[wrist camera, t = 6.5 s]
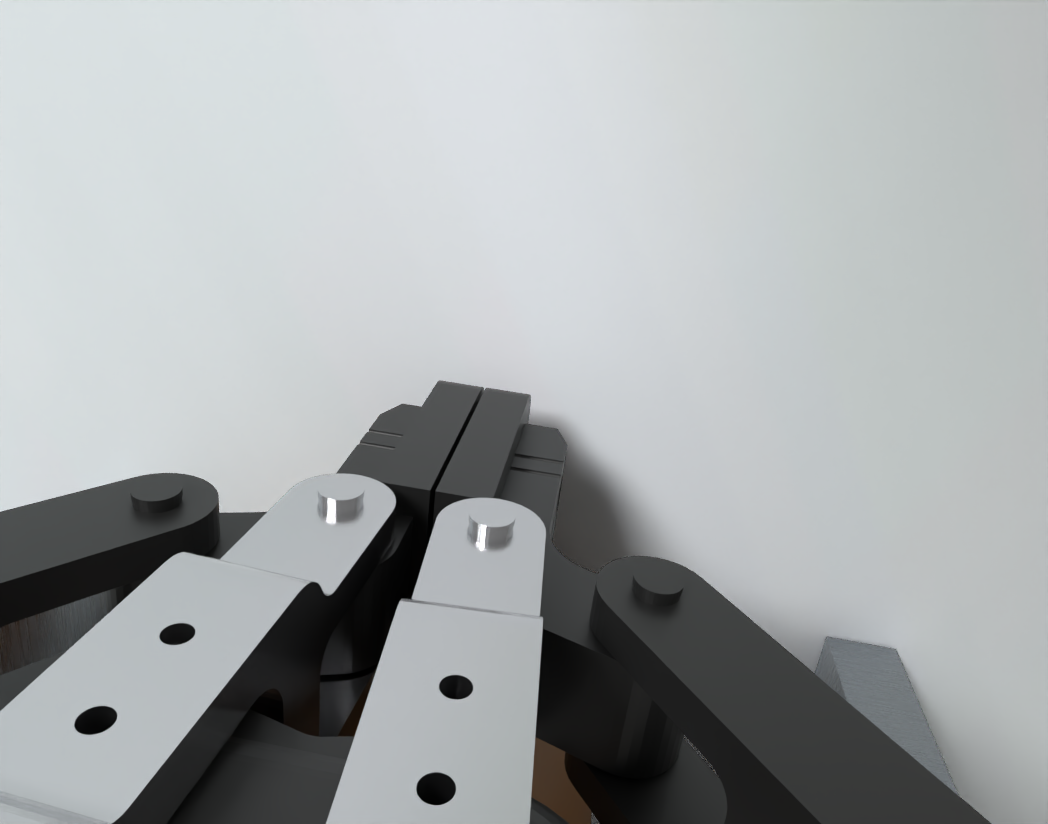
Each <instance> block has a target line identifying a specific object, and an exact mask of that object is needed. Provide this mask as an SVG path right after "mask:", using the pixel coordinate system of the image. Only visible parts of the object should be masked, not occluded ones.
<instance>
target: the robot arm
mask: <svg viewBox="0 0 1048 824" xmlns="http://www.w3.org/2000/svg"><path fill="white" fill-rule="evenodd" d="M530 403H531V395H528V394H522V393H516V392H510V391H503V390H497V389H491V388H486V389H485V391H484V388H483V387H478V386H471V385H465V384H459V383H453V382H446V381H438V382H437V384H436V385H435V387H434V388H433V390H432V392H431V393H430V395H429V396H428V398H427V399H426V401H425V402H424V404H423V406H422V407H419V406H413V405H407V404H401V405H399V406H397V407H395V408H393V409H391V410H388V411H386V412H384V413H382V414H380V415H379V417H378V418H377V420H376V421H375V422H374V424H373V425H372V426H371V428H370V429H369V432H367V433H366V434H365V436H364V437H363V438H362V440H361V441H360V445H357V446H356V448H355V449H354V450H353V452H352V453H351V454H350V456H349V457H348V458H347V460H346V461H345V462H344V464H343V465H342V466H341V468H340V469H339V470H338V472H337V473H336V474H326V475H320V476H316V477H312V478H309V479H306V480H304V481H301V482H300V483H298V484H296V485H295V486H293V487H292V488H291V489H290V490H289V491H288V492H287V493H286V494H285V495H284V496H283V497H282V498H281V499H280V500H279V501H278V502H277V503H276V504H275V505H274V506H273V507H272V508H271V509H270V510H269V511H268V512H253V513H219V499H218V493H217V490H216V489H215V488H214V486H213V485H211V484H210V483H209V482H207V481H205V480H203V479H201V478H198V477H195V476H190V475H186V474H177V473H159V474H149V475H143V476H138V477H134V478H130V479H126V480H122V481H118V482H115V483H111V484H107V485H103V486H99V487H95V488H91V489H87V490H83V491H80V492H76V493H72V494H68V495H64V496H60V497H56V498H52V499H48V500H45V501H41V502H37V503H33V504H29V505H25V506H21V507H17V508H14V509H10V510H6V511H2V512H0V628H1V627H3V626H6V625H8V624H10V623H13V622H16V621H19V620H22V619H25V618H28V617H31V616H34V615H37V614H40V613H43V612H46V611H49V610H52V609H55V608H58V607H61V606H64V605H67V604H70V603H72V602H75V601H78V600H81V599H84V598H87V597H90V596H93V595H96V594H99V593H102V592H105V600H106V609H107V615H106V616H105V617H104V618H103V619H102V620H101V621H99V622H98V623H97V624H96V625H95V626H94V627H93V628H92V629H91V630H90V631H88V632H87V633H86V634H85V635H84V636H83V637H82V638H81V639H80V640H78V641H77V642H76V643H75V644H74V645H73V646H72V647H71V648H70V649H68V650H67V651H64V652H62V653H59V654H56V655H54V656H51V657H48V658H46V659H43V660H40V661H38V662H35V663H32V664H30V665H27V666H24V667H22V668H19V669H16V670H13V671H11V672H8V673H5V674H3V675H0V824H569V823H568V822H567V821H566V820H565V819H563V818H562V817H561V816H559V815H558V814H557V813H555V812H554V811H553V810H551V809H550V808H549V807H547V806H546V805H544V804H542V803H540V802H539V801H537V800H535V799H534V798H532V797H531V793H532V778H533V764H534V749H535V737H536V738H538V739H540V740H542V741H545V742H547V743H549V744H551V745H553V746H555V747H557V748H559V749H561V750H563V751H565V759H564V764H565V770H566V773H567V775H568V778H569V780H570V781H571V783H572V785H573V786H574V788H575V789H576V790H577V792H578V793H579V795H580V796H581V797H582V799H583V800H584V802H585V803H586V804H587V806H588V807H589V809H590V810H591V811H592V813H593V814H594V815H595V817H596V818H597V820H598V821H599V822H600V824H991V823H990V822H989V821H987V820H986V819H985V818H984V817H983V816H982V815H980V814H979V813H978V812H977V811H976V810H974V809H973V808H972V807H971V806H970V805H969V804H967V803H966V802H965V801H964V800H963V799H962V798H960V797H959V796H958V795H957V794H956V793H954V792H953V791H952V790H951V789H950V788H949V787H947V786H946V785H945V784H944V783H943V782H942V781H940V780H939V779H938V778H937V777H936V776H934V775H933V774H932V773H931V772H930V771H929V770H927V769H926V768H925V767H924V766H923V765H921V764H920V763H919V762H918V761H917V760H916V759H914V758H913V757H912V756H911V755H910V754H909V753H907V752H906V751H905V750H904V749H903V748H901V747H900V746H899V745H898V744H897V743H896V742H894V741H893V740H892V739H891V738H890V737H889V736H887V735H886V734H885V733H884V732H883V731H881V730H880V729H879V728H878V727H877V726H876V725H874V724H873V723H872V722H871V721H870V720H868V719H867V718H866V717H865V716H864V715H863V714H861V713H860V712H859V711H858V710H857V709H856V708H854V707H853V706H852V705H851V704H850V703H848V702H847V701H846V700H845V699H844V698H843V697H841V696H840V695H839V694H838V693H837V692H836V691H834V690H833V689H832V688H831V687H830V686H828V685H827V684H826V683H825V682H824V681H823V680H821V679H820V678H819V677H818V676H817V675H815V674H814V673H813V672H812V671H811V670H810V669H808V668H807V667H806V666H805V665H804V664H803V663H801V662H800V661H799V660H798V659H797V658H795V657H794V656H793V655H792V654H791V653H790V652H788V651H787V650H786V649H785V648H784V647H783V646H781V645H780V644H779V643H778V642H777V641H775V640H774V639H773V638H772V637H771V636H770V635H768V634H767V633H766V632H765V631H764V630H762V629H761V628H760V627H759V626H758V625H757V624H755V623H754V622H753V621H752V620H751V619H750V618H748V617H747V616H746V615H745V614H744V613H742V612H741V611H740V610H739V609H738V608H737V607H735V606H734V605H733V604H732V603H731V602H729V601H728V600H727V599H726V598H725V597H724V596H722V595H721V594H720V593H719V592H718V591H717V590H715V589H714V588H713V587H712V586H711V585H709V584H708V583H707V582H706V581H705V580H704V579H702V578H701V577H700V576H698V575H697V574H696V573H694V572H693V571H691V570H689V569H688V568H686V567H684V566H681V565H679V564H677V563H674V562H671V561H668V560H664V559H660V558H655V557H648V556H631V557H624V558H620V559H617V560H614V561H612V562H610V563H608V564H606V565H605V566H604V567H603V568H602V569H601V570H600V572H599V573H598V574H596V573H594V572H591V571H589V570H586V569H584V568H582V567H580V566H578V565H576V564H574V563H573V562H571V561H570V560H568V559H567V558H565V557H564V556H563V555H562V554H561V553H560V552H559V551H558V550H557V549H556V547H555V546H554V545H553V543H552V539H553V534H554V529H555V523H556V516H557V510H558V503H559V496H560V490H561V483H562V477H563V470H564V463H565V457H566V450H567V444H566V442H565V441H564V439H563V437H562V436H561V434H560V433H559V431H558V429H555V428H549V427H543V426H537V425H531V424H528V421H529V413H530ZM358 724H359V725H358ZM357 725H358V728H357V731H356V734H355V736H352V734H353V732H354V731H355V729H356V727H357ZM684 734H685V736H686V737H687V738H688V739H689V740H690V741H691V742H692V743H693V744H694V745H695V747H696V748H697V749H698V750H699V751H700V752H701V753H702V754H703V755H704V756H705V757H706V759H707V760H708V761H709V762H710V763H711V764H712V766H713V767H714V769H715V770H716V772H717V774H718V776H719V777H720V778H719V777H718V776H717V775H716V774H715V773H714V772H713V771H712V769H711V768H710V767H709V766H708V765H707V764H706V763H705V762H704V761H703V760H702V758H701V757H700V756H699V755H698V754H697V753H696V752H695V751H694V750H693V749H692V747H691V746H690V745H689V744H688V743H687V742H686V741H685V740H684V739H683V736H684Z"/></svg>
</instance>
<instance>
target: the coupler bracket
mask: <svg viewBox="0 0 1048 824" xmlns="http://www.w3.org/2000/svg"><path fill="white" fill-rule="evenodd" d="M106 615H107V609H106V600H105V592H102V593H99V594H96V595H93V596H90V597H87V598H84V599H81V600H78V601H75V602H72V603H70V604H67V605H64V606H61V607H58V608H55V609H52V610H49V611H46V612H43V613H40V614H37V615H34V616H31V617H28V618H25V619H22V620H19V621H16V622H13V623H10V624H8V625H6V626H3V627H1V628H0V675H3V674H5V673H8V672H11V671H13V670H16V669H19V668H22V667H24V666H27V665H30V664H32V663H35V662H38V661H40V660H43V659H46V658H48V657H51V656H54V655H56V654H59V653H62V652H64V651H67V650H68V649H70V648H71V647H72V646H73V645H74V644H75V643H76V642H77V641H78V640H80V639H81V638H82V637H83V636H84V635H85V634H86V633H87V632H88V631H90V630H91V629H92V628H93V627H94V626H95V625H96V624H97V623H98V622H99V621H101V620H102V619H103V618H104V617H105V616H106ZM815 675H817V676H818V677H819V678H820V679H821V680H823V681H824V682H825V683H826V684H827V685H828V686H830V687H831V688H832V689H833V690H834V691H836V692H837V693H838V694H839V695H840V696H841V697H843V698H844V699H845V700H846V701H847V702H848V703H850V704H851V705H852V706H853V707H854V708H856V709H857V710H858V711H859V712H860V713H861V714H863V715H864V716H865V717H866V718H867V719H868V720H870V721H871V722H872V723H873V724H874V725H876V726H877V727H878V728H879V729H880V730H881V731H883V732H884V733H885V734H886V735H887V736H889V737H890V738H891V739H892V740H893V741H894V742H896V743H897V744H898V745H899V746H900V747H901V748H903V749H904V750H905V751H906V752H907V753H909V754H910V755H911V756H912V757H913V758H914V759H916V760H917V761H918V762H919V763H920V764H921V765H923V766H924V767H925V768H926V769H927V770H929V771H930V772H931V773H932V774H933V775H934V776H936V777H937V778H938V779H939V780H940V781H942V782H943V783H944V784H945V785H946V786H947V787H949V788H950V789H951V790H952V791H953V792H954V793H956V794H957V795H958V793H957V790H956V788H955V786H954V783H953V781H952V779H951V776H950V774H949V772H948V769H947V767H946V765H945V762H944V760H943V758H942V755H941V753H940V751H939V749H938V746H937V744H936V742H935V739H934V737H933V735H932V732H931V730H930V728H929V725H928V723H927V721H926V718H925V716H924V714H923V711H922V709H921V707H920V704H919V702H918V700H917V697H916V695H915V693H914V690H913V688H912V686H911V684H910V681H909V679H908V677H907V674H906V672H905V670H904V667H903V665H902V663H901V660H900V658H899V656H898V653H897V651H896V649H893V648H887V647H882V646H876V645H871V644H865V643H859V642H854V641H848V640H843V639H837V638H832V637H826V641H825V644H824V647H823V650H822V653H821V656H820V659H819V663H818V666H817V669H816V672H815ZM958 796H959V795H958Z"/></svg>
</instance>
